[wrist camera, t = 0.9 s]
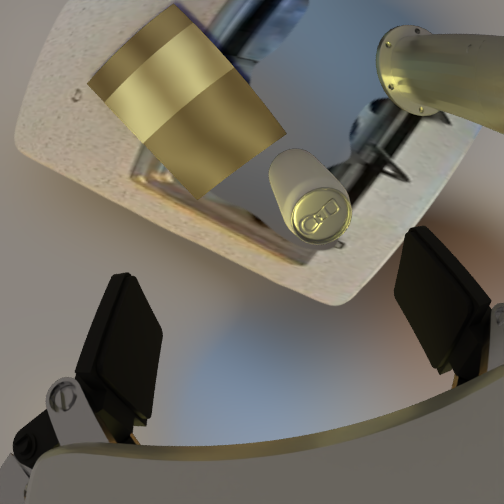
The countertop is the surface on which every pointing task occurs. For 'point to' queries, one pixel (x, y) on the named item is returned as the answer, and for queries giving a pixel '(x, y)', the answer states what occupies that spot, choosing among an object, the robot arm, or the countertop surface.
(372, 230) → the countertop surface
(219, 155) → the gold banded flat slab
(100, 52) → the countertop surface
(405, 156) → the countertop surface
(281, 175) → the can
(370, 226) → the countertop surface
